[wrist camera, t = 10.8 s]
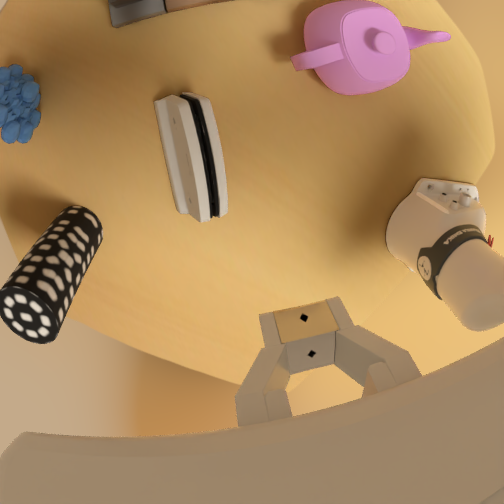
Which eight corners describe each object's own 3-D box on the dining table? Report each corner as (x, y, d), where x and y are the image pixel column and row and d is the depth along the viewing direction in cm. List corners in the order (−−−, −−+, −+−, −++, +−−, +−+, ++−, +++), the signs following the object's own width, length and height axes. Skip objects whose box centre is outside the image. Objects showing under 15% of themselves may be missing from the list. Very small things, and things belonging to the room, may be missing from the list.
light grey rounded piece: (153, 98, 36) (169, 97, 28) (187, 91, 38) (213, 88, 30) (177, 212, 45) (198, 239, 37) (207, 202, 47) (235, 227, 39)
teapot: (416, 76, 38) (464, 84, 28) (300, 109, 39) (328, 120, 30) (391, -3, 31) (437, -15, 21) (265, 20, 32) (284, 2, 23)
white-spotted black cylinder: (102, 207, 43) (50, 292, 26) (104, 255, 47) (65, 349, 30) (54, 204, 41) (-12, 281, 24) (59, 250, 45) (8, 336, 28)
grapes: (72, 118, 35) (30, 136, 25) (37, 139, 36) (-9, 163, 25) (48, 48, 29) (1, 46, 19) (13, 73, 29) (-37, 80, 19)
